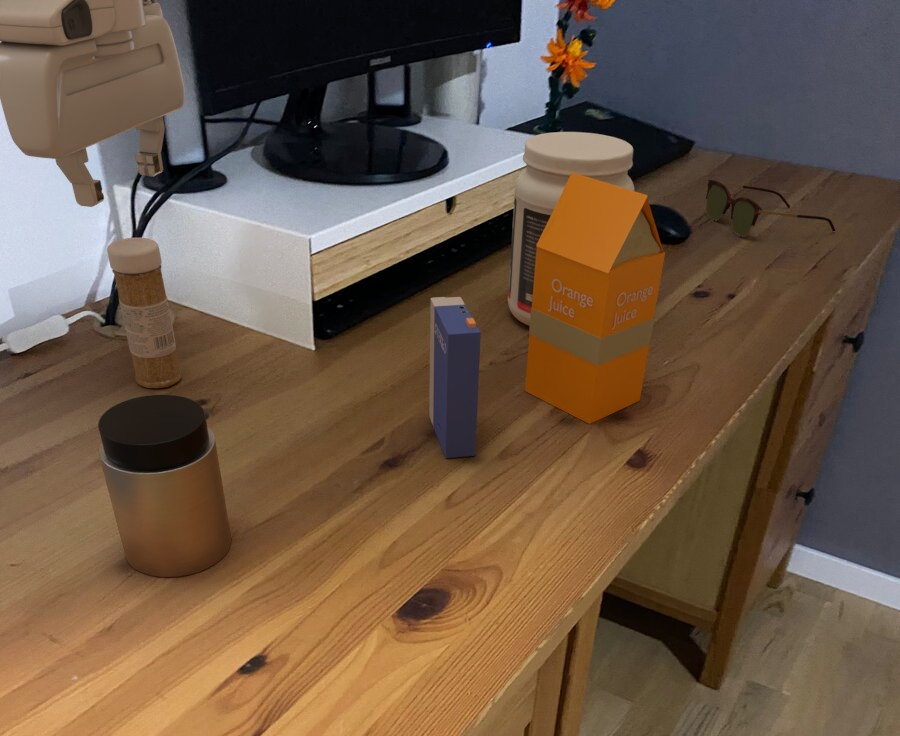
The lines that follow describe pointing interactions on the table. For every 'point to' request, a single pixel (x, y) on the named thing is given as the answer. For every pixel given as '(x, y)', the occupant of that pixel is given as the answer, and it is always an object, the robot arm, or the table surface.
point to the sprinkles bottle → (145, 311)
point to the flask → (164, 485)
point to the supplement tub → (555, 195)
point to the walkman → (454, 376)
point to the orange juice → (593, 300)
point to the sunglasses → (741, 207)
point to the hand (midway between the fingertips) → (122, 188)
